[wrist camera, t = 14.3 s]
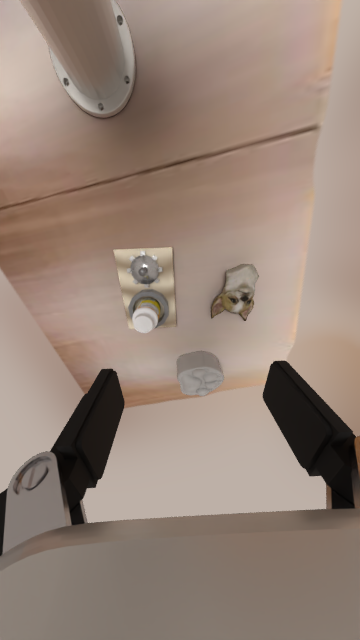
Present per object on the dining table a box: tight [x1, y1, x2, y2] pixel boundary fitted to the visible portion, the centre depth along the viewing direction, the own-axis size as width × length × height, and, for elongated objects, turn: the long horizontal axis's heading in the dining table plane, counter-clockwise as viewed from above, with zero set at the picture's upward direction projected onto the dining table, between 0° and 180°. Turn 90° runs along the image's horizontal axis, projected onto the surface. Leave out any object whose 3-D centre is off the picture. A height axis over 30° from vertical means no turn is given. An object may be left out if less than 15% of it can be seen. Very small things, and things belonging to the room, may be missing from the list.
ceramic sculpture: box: [211, 264, 259, 321], centre depth 38 cm, size 11×9×15 cm
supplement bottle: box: [132, 297, 161, 333], centre depth 37 cm, size 6×6×10 cm
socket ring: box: [128, 289, 169, 328], centre depth 40 cm, size 10×10×2 cm
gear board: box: [114, 247, 176, 329], centre depth 40 cm, size 20×13×2 cm, turn 2°
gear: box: [127, 251, 163, 288], centre depth 36 cm, size 8×8×4 cm
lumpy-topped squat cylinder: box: [177, 351, 224, 396], centre depth 48 cm, size 10×13×9 cm
